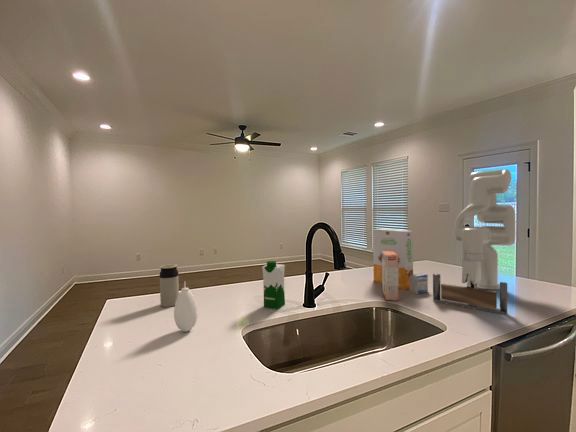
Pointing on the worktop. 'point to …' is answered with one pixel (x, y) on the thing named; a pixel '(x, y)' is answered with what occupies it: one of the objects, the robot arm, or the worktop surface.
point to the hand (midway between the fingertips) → (472, 298)
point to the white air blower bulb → (185, 310)
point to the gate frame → (501, 311)
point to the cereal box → (401, 246)
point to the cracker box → (390, 275)
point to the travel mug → (169, 285)
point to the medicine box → (419, 283)
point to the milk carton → (273, 284)
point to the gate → (469, 295)
